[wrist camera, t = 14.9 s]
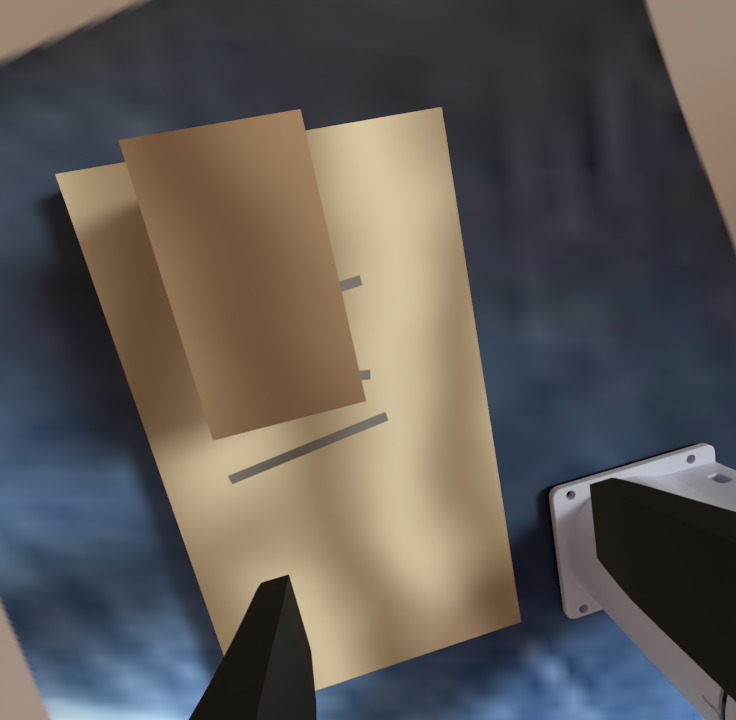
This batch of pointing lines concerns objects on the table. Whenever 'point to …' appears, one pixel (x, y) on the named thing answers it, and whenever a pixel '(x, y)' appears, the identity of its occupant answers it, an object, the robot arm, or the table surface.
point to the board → (334, 417)
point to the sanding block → (247, 269)
